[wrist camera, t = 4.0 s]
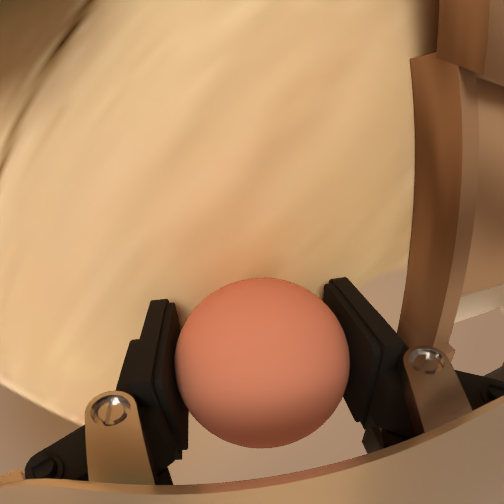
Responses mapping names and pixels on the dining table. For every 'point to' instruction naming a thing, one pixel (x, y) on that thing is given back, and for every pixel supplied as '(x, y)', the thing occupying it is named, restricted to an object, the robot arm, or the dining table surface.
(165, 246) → the dining table surface
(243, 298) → the ball
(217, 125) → the dining table surface
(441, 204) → the lane
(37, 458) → the robot arm
